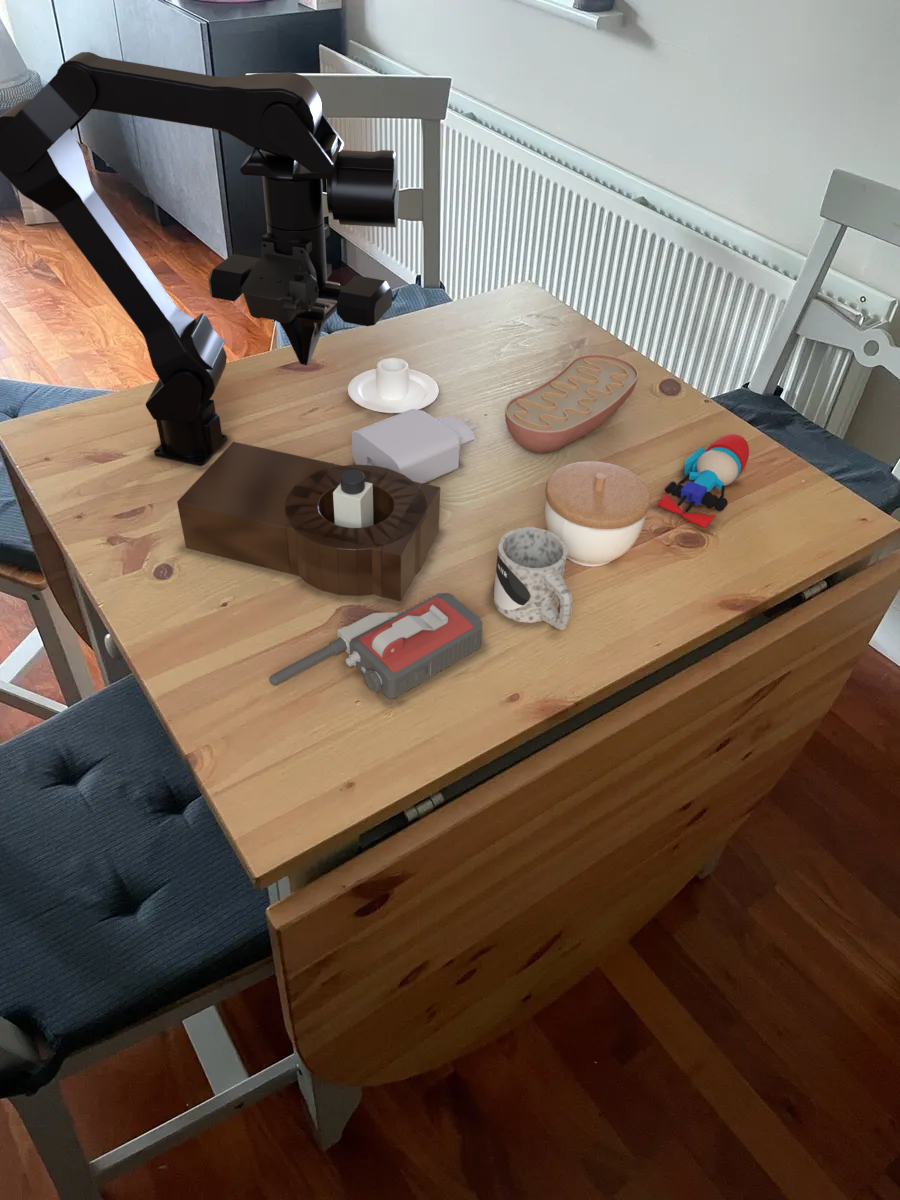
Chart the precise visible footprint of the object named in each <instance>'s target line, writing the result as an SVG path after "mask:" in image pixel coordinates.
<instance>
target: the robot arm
mask: <svg viewBox="0 0 900 1200" xmlns="http://www.w3.org/2000/svg"><path fill="white" fill-rule="evenodd" d="M92 110H98V111H104V112H110V113H116V114H122V115H128V116H132V117H133V116H135V117H140V118H146V119H153V120H158V121H163V122H164V121H165V122H170V123H177V124H183V125H188V126H194V127H200V128H201V127H202V128H207V129H212V130H216V131H218V132H222V133H224V134H227V135H229V136H230V137H232V138H234V139H236V140H238V141H239V142H241V143H242V144H244V145H246V146H249V147H252V148H253V149H252V152H251V153H250V155H248V156H247V157H246V159H245V160H244V161H243V163H242V164H241V166H240V167H239V172H240V174H241V175H242V176H251V177H252V176H254V177H262V188H263V199H264V210H265V220H266V231H267V232H266V233H265V234H263V235H262V236H261V243H260V249H261V251H260V257H253V256H248V255H242V254H235V253H232V254H231V255H229V256H228V257H226V259H224V260H223V261H222V262H220V263H219V264H217V265H216V266H215V267H214V268H213V269H211V271H209V276H208V280H207V281H208V282H207V283H208V288H209V295H210V296H211V298H213V299H218V300H223V301H229V302H236V301H237V300H238V299H239V298H240V297H241V296H242V295H243V298H244V299H245V303H246V306H247V309H248V312H249V314H250V316H251V317H252V318H254V319H258V320H259V319H266V320H272V321H276V322H277V323H279V324H280V327H281V328H282V329H283V331H284V333H285V335H286V337H287V339H288V341H289V343H290V345H291V348H292V350H293V352H294V354H295V356H296V358H297V360H298V362H299V364H300V365H303V366H308V365H309V364H311V362H312V360H313V359H312V358H313V356H314V354H315V351H316V348H317V344H318V342H319V340H320V336H321V333H322V331H323V328H324V326H325V323H326V322H327V320H329V318H330V317H331V316H332V315H334V313H335V312H336V314H337V316H338V317H339V318H340V319H341V321H342V322H343V323H348V324H352V325H357V326H362V327H372V326H375V325H376V324H377V323H378V322H379V321H380V319H381V318H383V316H384V315H385V314H386V313H387V312H388V310H389V309H390V308H391V307H392V306H393V290H392V288H391V287H390V285H389V283H388V282H387V280H385V279H378V278H373V277H368V276H367V277H366V276H362V275H354V277H353V278H351V280H349V282H348V283H346V285H341V284H340V283H339V282H335V281H330V280H328V278H329V277H330V276H331V275H332V274H333V272H332V264H331V263H327V251H326V239H327V238H328V237H329V236H330V235H331V229H330V228H331V227H330V224H327V223H325V212H324V194H323V193H324V192H323V180H326V206H327V212H328V213H329V214H332V219H333V220H334V221H338V223H339V225H340V226H341V225H342V226H357V227H358V226H360V227H378V228H397V226H398V219H399V203H400V201H399V200H400V180H399V179H398V171H397V164H396V152H395V151H394V150H391V149H389V150H388V149H380V150H375V151H365V150H349V149H347V150H346V149H344V147H345V143H344V141H343V139H342V138H341V137H340V135H339V134H338V133H337V131H336V130H335V128H334V127H333V125H332V124H331V122H330V121H329V120H328V119H327V117H326V115H325V114H324V113H323V107H322V100H321V97H320V95H319V92H318V91H317V89H316V87H314V85H313V84H312V82H311V81H310V80H309V79H308V78H307V77H305V76H304V75H301V74H298V73H296V72H260V73H252V74H243V75H237V76H216V75H210V74H206V73H205V74H204V73H198V72H192V71H185V70H180V69H175V68H174V69H173V68H168V67H162V66H157V65H156V66H155V65H152V64H151V65H150V64H146V63H145V64H144V63H140V62H132V61H128V60H127V61H126V60H121V59H115V58H108V57H102V56H100V55H98V54H96V53H93V52H90V51H81V52H79V53H77V54H75V55H74V56H72V57H70V58H69V59H67V60H66V61H65V62H63V63H62V64H61V65H60V66H59V67H58V69H57V72H56V73H55V75H54V76H52V78H51V79H50V80H49V81H48V83H46V85H44V86H43V88H41V90H39V91H38V92H37V93H36V95H34V96H33V97H32V98H30V99H29V98H27V99H24V100H21V101H19V102H17V103H16V104H14V105H13V106H12V107H10V108H9V109H7V110H5V112H3V113H1V114H0V174H1V175H2V176H3V178H5V179H6V180H7V181H9V182H8V183H10V184H11V185H12V186H13V187H14V188H15V189H16V190H17V191H18V192H19V193H20V194H21V195H22V196H23V197H25V198H26V199H28V200H30V201H32V202H33V203H35V204H36V205H38V206H40V207H41V208H43V209H44V210H46V211H47V212H49V213H50V214H52V216H53V217H54V218H55V219H56V220H57V222H58V223H59V224H60V226H61V227H62V229H63V230H64V231H65V232H66V233H67V235H68V237H69V238H70V239H71V240H72V242H73V243H74V245H76V247H77V248H78V250H79V251H80V253H81V254H82V255H83V257H84V258H85V259H86V260H87V262H88V264H90V266H91V267H92V269H93V270H94V271H95V273H96V274H97V275H98V277H99V278H100V280H101V281H102V282H103V283H104V285H105V287H107V289H108V290H109V291H110V293H111V294H112V295H113V297H114V298H115V299H116V300H117V302H118V303H119V305H120V307H122V308H123V310H124V311H125V313H126V314H127V316H128V317H129V318H130V319H131V321H132V323H134V325H135V327H136V328H137V329H138V330H139V332H140V333H141V334H142V336H143V338H144V341H145V345H146V348H147V352H148V357H149V359H150V362H151V366H152V368H153V370H154V372H155V374H156V376H157V378H158V380H157V382H156V384H155V386H154V388H153V389H152V391H151V393H150V395H149V397H148V399H147V401H146V402H145V407H146V410H147V411H148V413H149V414H150V416H151V417H152V419H153V420H154V421H156V426H157V431H158V436H159V445H158V446H157V447H156V448H154V450H153V454H154V456H155V457H160V458H164V459H169V460H172V461H175V462H181V463H186V464H189V465H190V464H191V465H193V466H199V467H200V466H203V465H205V464H206V463H207V462H208V461H209V460H210V459H211V458H212V457H213V456H214V455H215V454H216V453H217V452H218V450H219V449H220V448H221V447H222V446H223V445H224V444H225V443H226V442H228V437H227V435H226V434H223V432H222V425H221V417H220V414H219V413H217V410H216V405H215V400H214V399H211V398H212V396H213V395H214V394H215V391H216V389H217V387H218V385H219V383H220V380H221V379H222V376H223V374H224V371H225V369H226V366H227V359H228V357H227V352H226V350H225V348H224V345H225V344H226V339H224V338H222V337H221V336H220V335H219V334H218V333H217V332H216V331H215V329H214V328H213V325H212V323H211V321H210V319H209V317H208V316H207V315H206V314H205V313H203V312H202V313H200V315H198V316H197V317H195V318H193V317H192V316H190V315H189V314H187V313H185V312H184V311H182V310H181V309H179V307H178V306H177V305H176V303H175V302H174V301H173V299H172V298H171V297H170V295H169V293H168V292H167V291H166V289H165V288H164V286H163V285H162V283H161V282H160V281H159V279H158V278H157V276H156V275H155V273H154V272H153V271H152V270H151V269H152V268H151V267H150V266H149V265H148V263H147V262H146V261H145V259H144V258H143V257H142V255H141V254H140V252H139V251H138V249H137V248H136V247H135V246H134V244H133V242H132V241H131V239H130V238H129V237H128V235H127V234H126V233H125V231H124V230H123V228H122V227H121V225H120V224H119V223H118V221H117V220H116V218H115V217H114V215H113V214H112V213H111V211H110V210H109V209H108V207H107V206H106V204H105V203H104V201H103V200H102V199H101V197H100V196H99V194H98V193H97V192H96V190H95V189H94V186H93V184H92V181H91V178H90V174H89V171H88V167H87V164H86V160H85V157H84V154H83V150H82V149H81V146H80V145H79V142H78V141H77V139H76V137H75V135H74V133H73V130H74V129H75V128H76V127H77V126H78V124H80V123H81V122H82V121H83V120H84V118H86V117H87V115H89V113H90V112H91V111H92Z"/></svg>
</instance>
